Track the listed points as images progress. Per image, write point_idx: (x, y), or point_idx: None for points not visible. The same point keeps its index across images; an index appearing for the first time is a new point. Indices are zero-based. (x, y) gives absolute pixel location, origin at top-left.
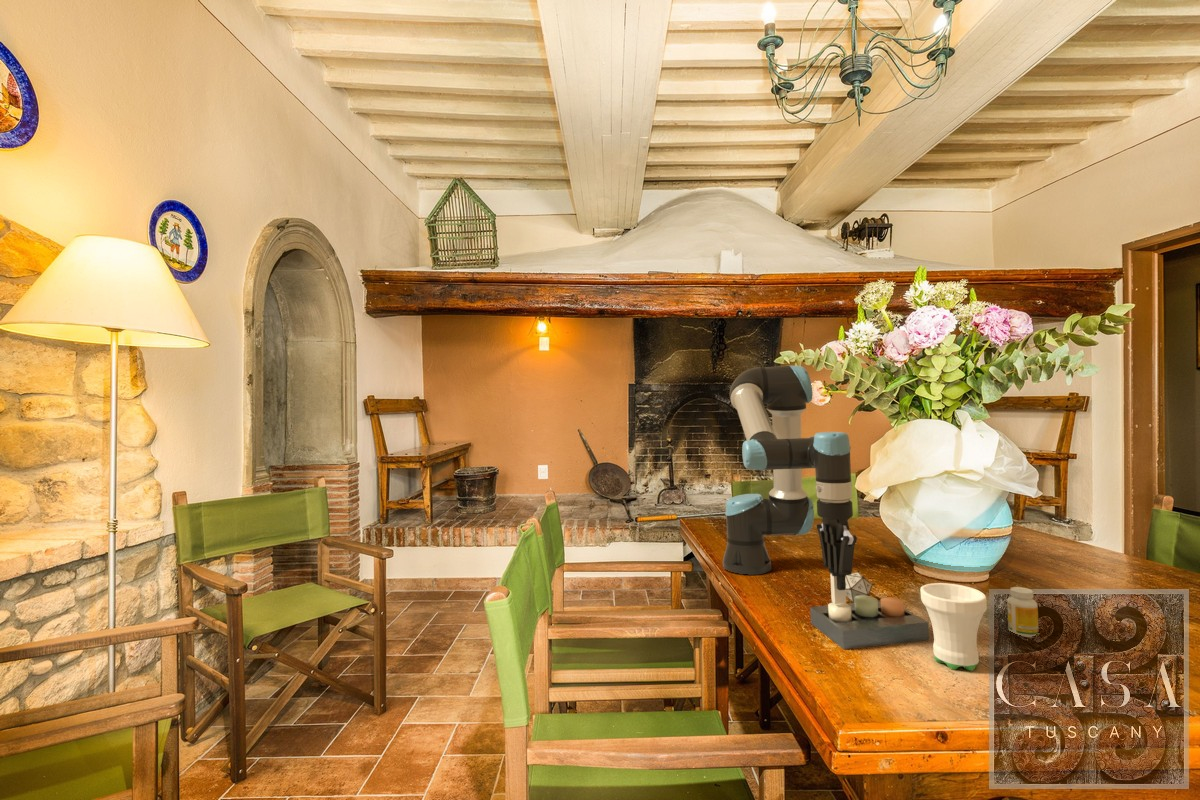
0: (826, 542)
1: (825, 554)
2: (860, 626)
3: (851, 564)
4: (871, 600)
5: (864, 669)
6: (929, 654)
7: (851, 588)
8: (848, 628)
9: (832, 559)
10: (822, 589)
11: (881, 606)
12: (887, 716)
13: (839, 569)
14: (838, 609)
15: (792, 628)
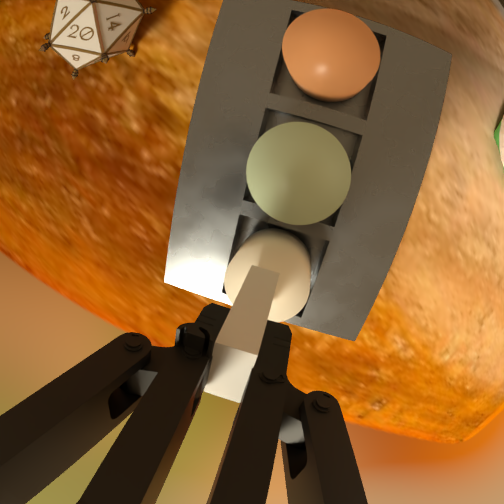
0: (43, 471)
1: (105, 433)
2: (366, 277)
3: (351, 465)
4: (326, 167)
5: (431, 342)
6: (481, 151)
7: (105, 54)
8: (354, 317)
9: (178, 447)
10: (36, 72)
11: (309, 91)
12: (498, 399)
13: (289, 456)
14: (290, 315)
15: (193, 318)
